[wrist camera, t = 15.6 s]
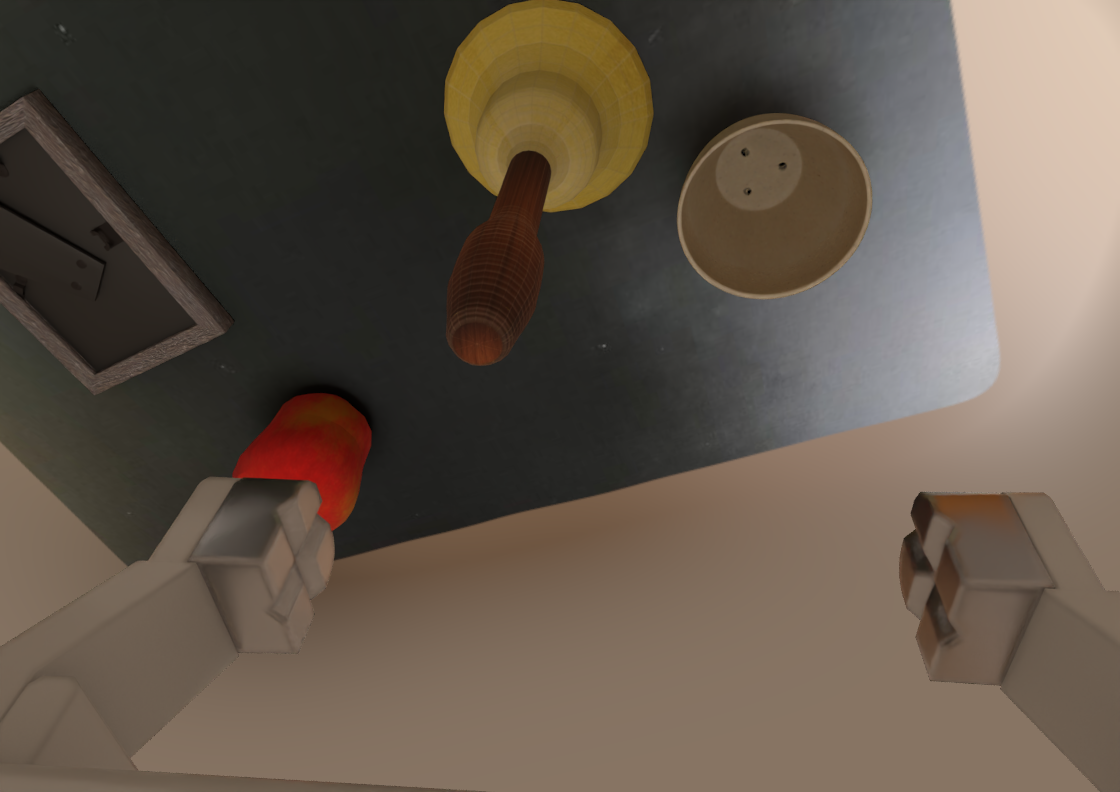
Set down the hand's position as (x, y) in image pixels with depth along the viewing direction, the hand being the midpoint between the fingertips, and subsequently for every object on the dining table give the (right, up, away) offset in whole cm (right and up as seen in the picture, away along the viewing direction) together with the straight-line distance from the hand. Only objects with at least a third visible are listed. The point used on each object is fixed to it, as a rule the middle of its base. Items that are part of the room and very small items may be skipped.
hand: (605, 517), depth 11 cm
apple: (-18, 0, +52) cm, 55 cm away
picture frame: (-34, +12, +45) cm, 57 cm away
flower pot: (+11, +15, +37) cm, 42 cm away
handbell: (-1, +18, +36) cm, 41 cm away
